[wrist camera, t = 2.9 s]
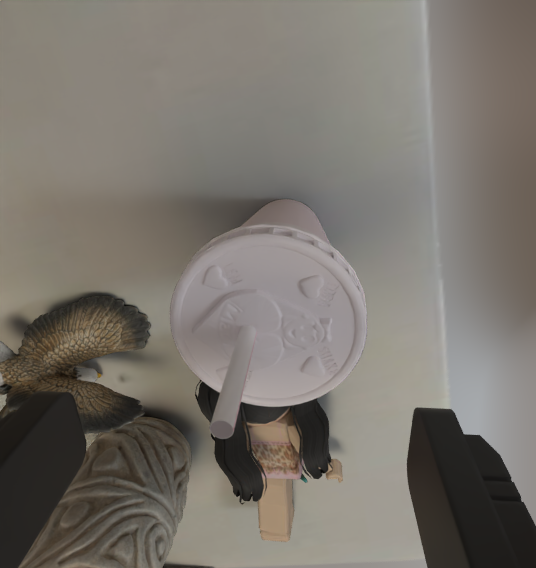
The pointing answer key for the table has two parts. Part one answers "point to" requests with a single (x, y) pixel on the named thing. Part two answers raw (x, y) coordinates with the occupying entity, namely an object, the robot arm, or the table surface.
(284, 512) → the toy figure
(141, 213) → the table surface
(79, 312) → the eagle figurine
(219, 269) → the smoothie
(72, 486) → the carving
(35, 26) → the table surface
